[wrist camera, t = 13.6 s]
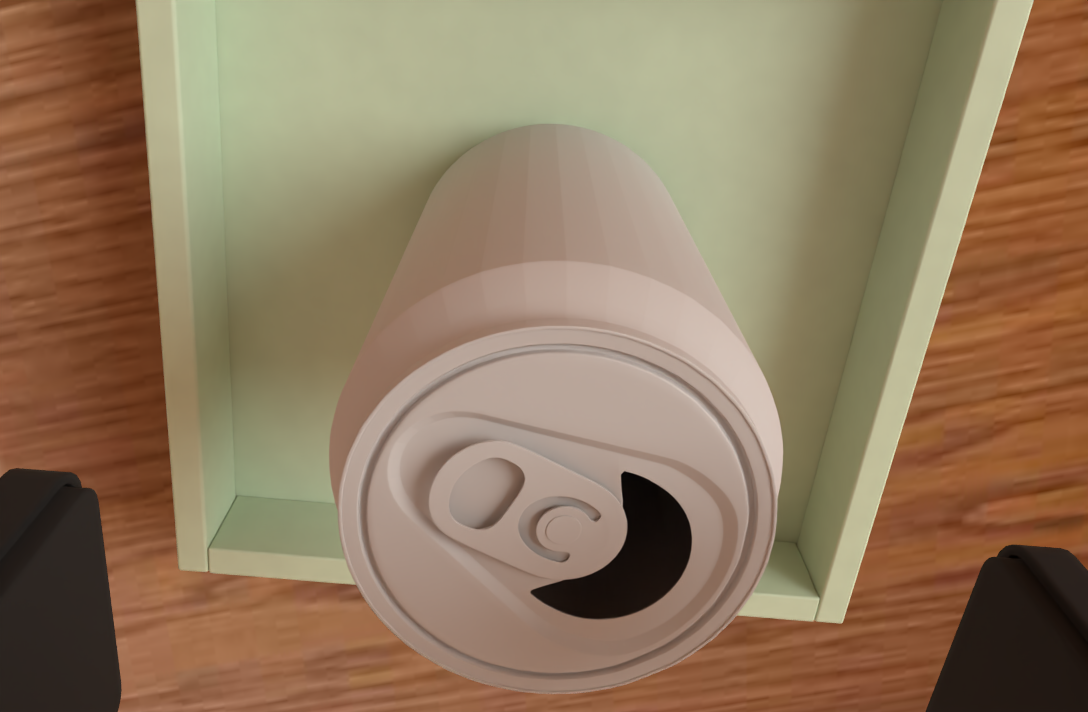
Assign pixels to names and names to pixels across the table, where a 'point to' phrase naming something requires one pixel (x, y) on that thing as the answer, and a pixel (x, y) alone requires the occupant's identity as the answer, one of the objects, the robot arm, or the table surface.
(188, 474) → the tray
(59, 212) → the table surface
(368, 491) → the beverage can
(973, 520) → the table surface
